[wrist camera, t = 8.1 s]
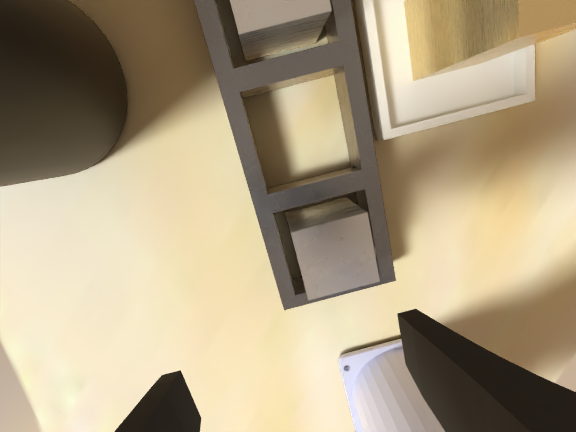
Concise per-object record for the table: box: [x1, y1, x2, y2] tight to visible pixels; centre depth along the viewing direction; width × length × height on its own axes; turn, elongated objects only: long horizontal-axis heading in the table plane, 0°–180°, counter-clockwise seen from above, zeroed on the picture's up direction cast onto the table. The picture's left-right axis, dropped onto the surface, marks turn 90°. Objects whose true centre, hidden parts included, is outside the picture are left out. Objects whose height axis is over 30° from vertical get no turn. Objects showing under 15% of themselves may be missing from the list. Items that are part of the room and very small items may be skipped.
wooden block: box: [404, 0, 576, 81], centre depth 12 cm, size 4×4×7 cm
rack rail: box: [194, 0, 396, 310], centre depth 15 cm, size 20×7×4 cm, turn 14°
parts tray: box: [354, 0, 535, 140], centre depth 15 cm, size 9×9×1 cm
